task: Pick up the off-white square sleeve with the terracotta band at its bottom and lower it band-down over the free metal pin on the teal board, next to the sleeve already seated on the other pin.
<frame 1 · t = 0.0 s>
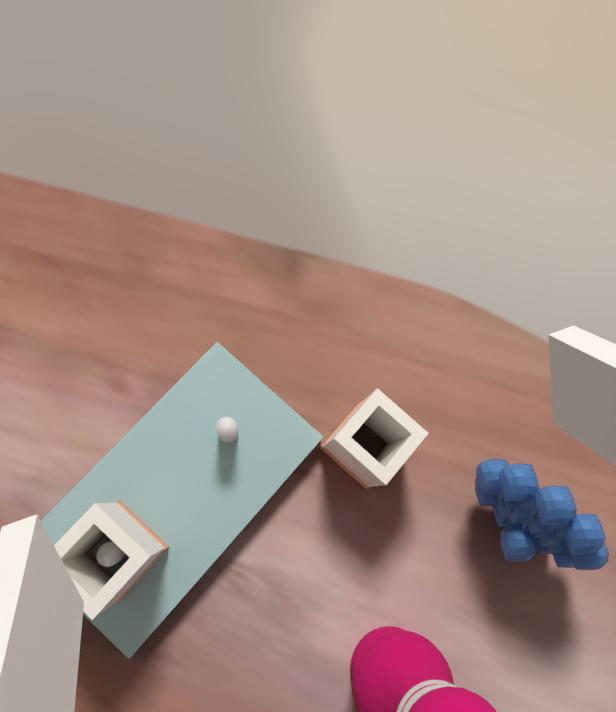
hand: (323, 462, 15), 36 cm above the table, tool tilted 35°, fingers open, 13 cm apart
grapes: (497, 521, 51), on the table
pepper mill: (388, 667, 47), on the table
sleeve: (361, 445, 51), on the table
seated sleeve: (120, 549, 45), point 2 cm above the table, touching pin board
pin board: (179, 490, 48), on the table
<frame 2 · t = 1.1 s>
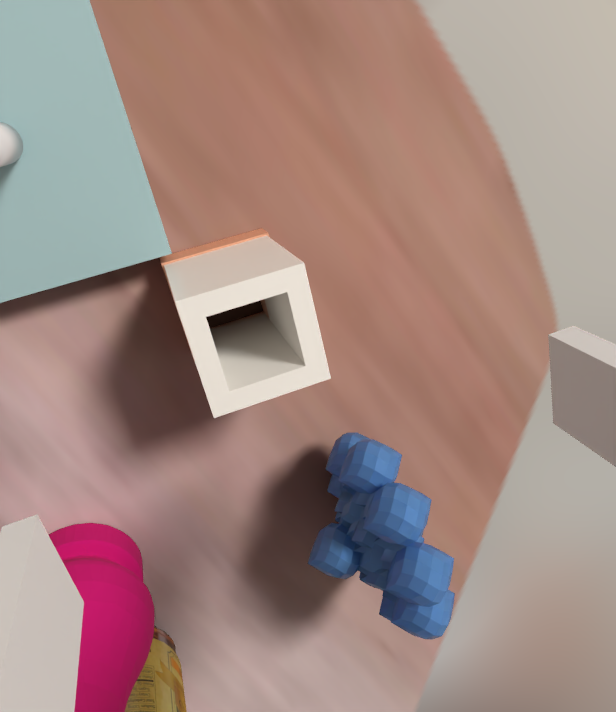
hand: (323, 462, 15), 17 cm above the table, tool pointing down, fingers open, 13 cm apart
grapes: (330, 474, 36), on the table
pepper mill: (85, 566, 33), on the table
sleeve: (225, 291, 30), on the table
sauce bottle: (127, 650, 36), on the table
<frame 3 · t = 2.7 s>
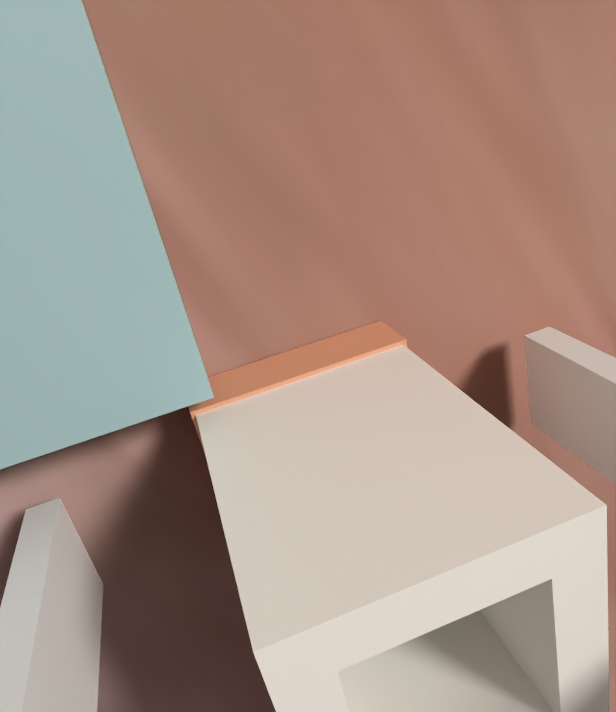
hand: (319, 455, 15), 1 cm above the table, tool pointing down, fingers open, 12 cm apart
sleeve: (308, 438, 16), on the table
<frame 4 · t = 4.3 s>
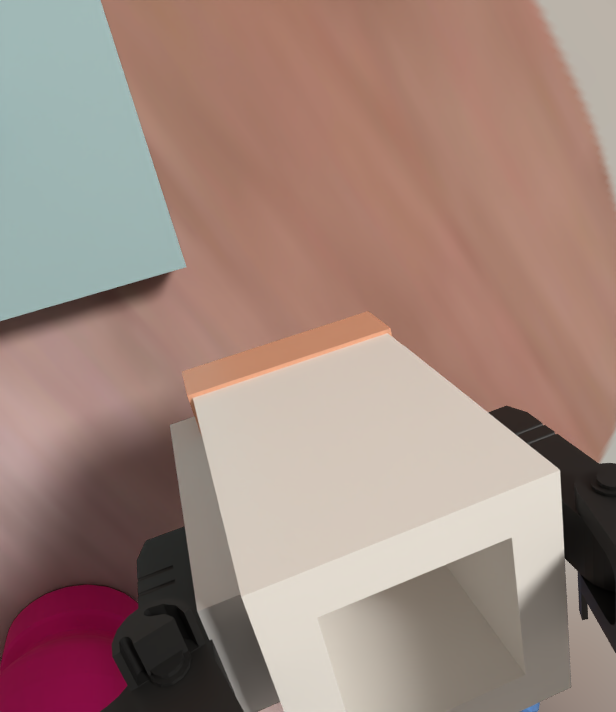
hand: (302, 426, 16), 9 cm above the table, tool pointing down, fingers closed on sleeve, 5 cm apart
pepper mill: (80, 631, 28), on the table
sleeve: (299, 423, 17), point 9 cm above the table, touching gripper
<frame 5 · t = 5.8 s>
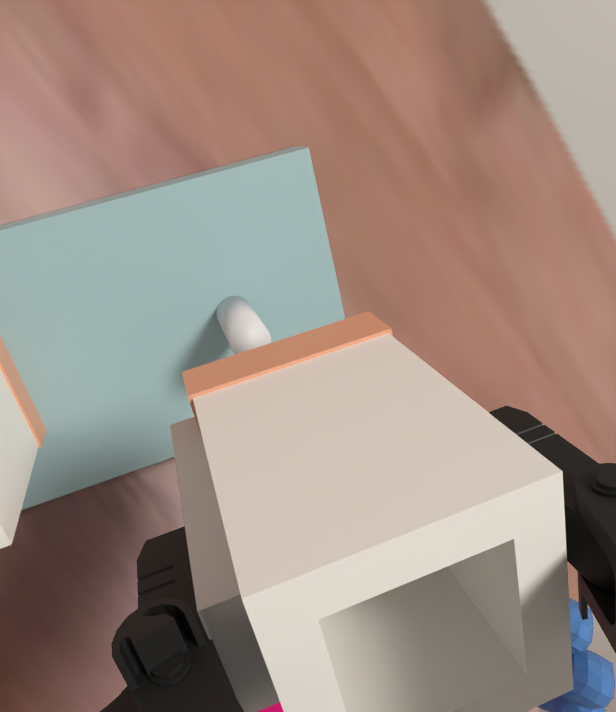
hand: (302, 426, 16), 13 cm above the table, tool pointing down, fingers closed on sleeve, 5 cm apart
grapes: (461, 560, 39), on the table
sleeve: (300, 423, 17), point 13 cm above the table, touching gripper
pin board: (103, 339, 27), on the table
when the fingers open (3 cm above the table, at t = 7.8 s): sleeve stays where it is, resting on pin board.
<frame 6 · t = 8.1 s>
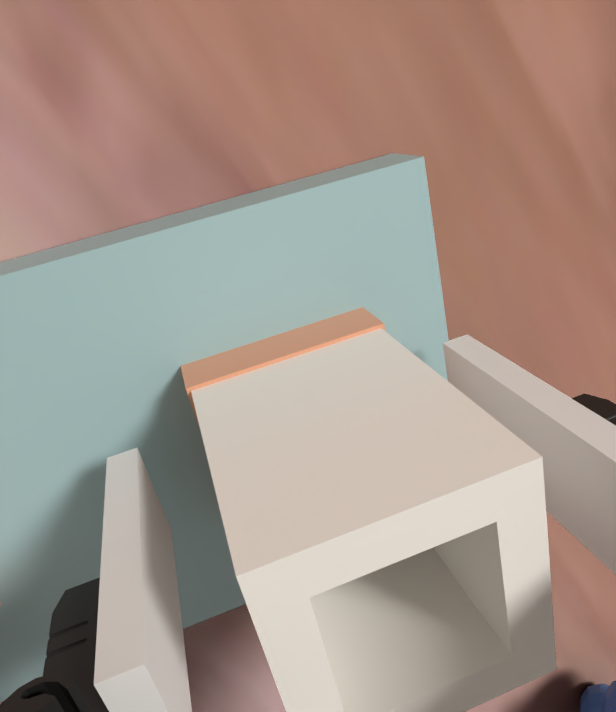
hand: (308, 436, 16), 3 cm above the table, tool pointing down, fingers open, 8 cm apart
grapes: (569, 696, 30), on the table
sleeve: (296, 416, 17), point 2 cm above the table, touching pin board
pin board: (91, 450, 18), on the table
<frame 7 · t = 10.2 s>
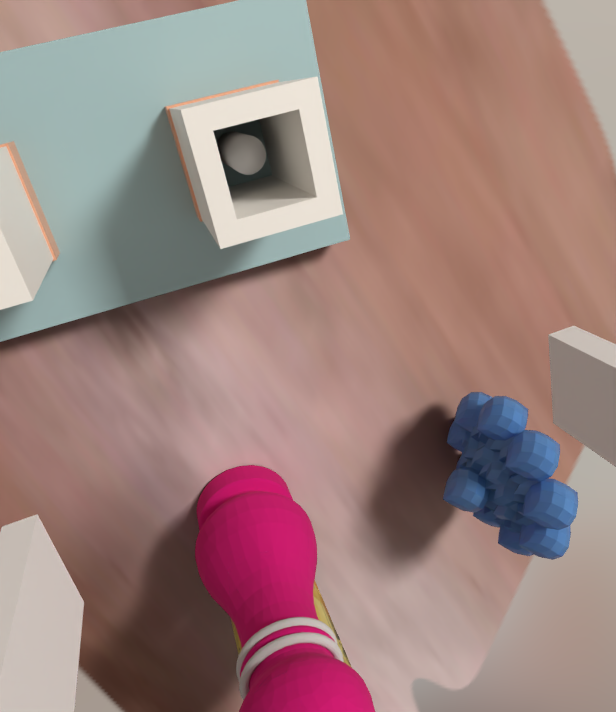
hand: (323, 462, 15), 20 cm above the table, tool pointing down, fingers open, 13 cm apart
grapes: (445, 430, 42), on the table
pepper mill: (243, 502, 39), on the table
sleeve: (233, 150, 29), point 2 cm above the table, touching pin board
pin board: (111, 175, 29), on the table
sauce bottle: (268, 576, 43), on the table
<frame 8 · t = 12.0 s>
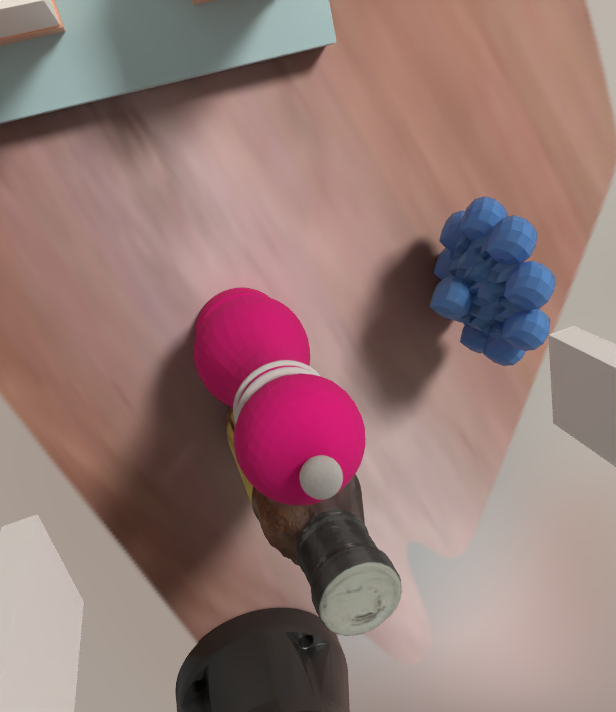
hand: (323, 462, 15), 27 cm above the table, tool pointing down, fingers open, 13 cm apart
grapes: (432, 268, 44), on the table
pepper mill: (239, 329, 41), on the table
sauce bottle: (264, 413, 44), on the table
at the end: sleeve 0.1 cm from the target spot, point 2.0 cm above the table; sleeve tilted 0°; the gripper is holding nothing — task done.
